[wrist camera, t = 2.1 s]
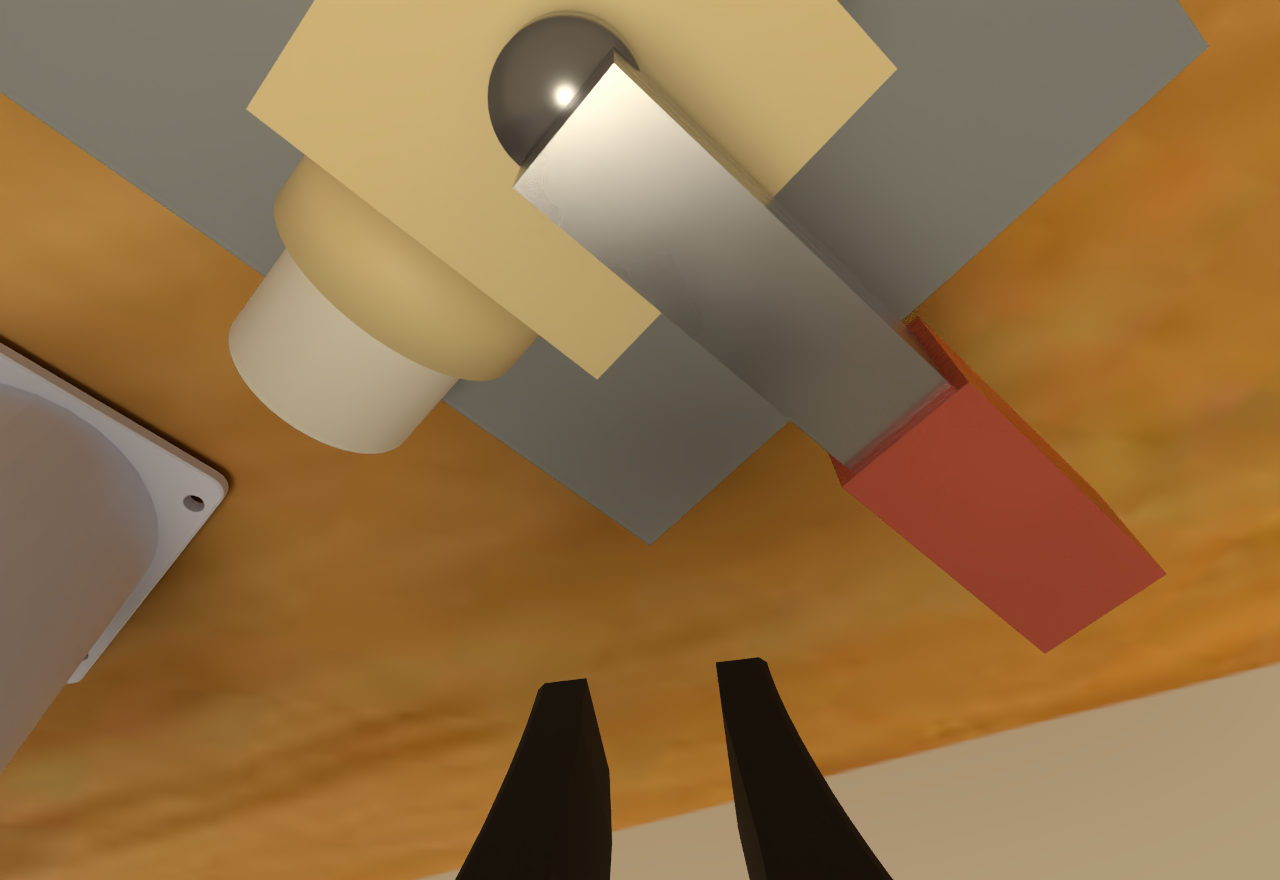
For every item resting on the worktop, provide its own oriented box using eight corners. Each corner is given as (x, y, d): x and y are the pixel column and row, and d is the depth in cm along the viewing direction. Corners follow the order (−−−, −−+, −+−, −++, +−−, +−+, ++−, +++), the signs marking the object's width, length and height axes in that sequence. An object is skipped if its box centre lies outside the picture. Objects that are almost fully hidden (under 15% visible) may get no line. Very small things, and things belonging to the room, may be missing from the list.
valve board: (648, 518, 23) (658, 692, 18) (-28, 36, 17) (-323, 88, 12) (1173, 39, 17) (1418, 89, 12) (445, -992, 11) (288, -1858, 6)
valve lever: (462, 104, 12) (427, 145, 9) (564, -33, 11) (552, -22, 9) (987, 555, 16) (1045, 653, 14) (1088, 482, 15) (1166, 573, 13)
